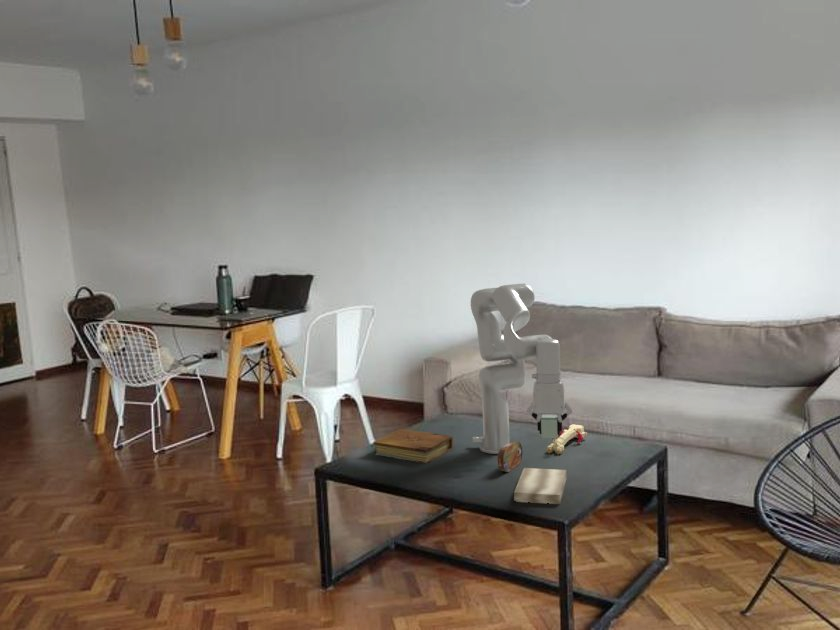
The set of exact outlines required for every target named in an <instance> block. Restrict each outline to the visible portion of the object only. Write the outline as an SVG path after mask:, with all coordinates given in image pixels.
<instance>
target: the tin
mask: <svg viewBox="0 0 840 630" xmlns="http://www.w3.org/2000/svg"><path fill="white" fill-rule="evenodd" d="M522 459H523V447H522V443H521V442H520V441H510V442H509V443H508V444H507V445H505V446H504V447H502V448H501V449H500V450H499V453H498V454H497V464H498V470H499V471H501V472H505V473H510V472H511V471H513V470H514V469H515V468H516V467H518V466H519V465H520V464H521V462H522ZM512 469H513V470H512Z"/></svg>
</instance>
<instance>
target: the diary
mask: <svg viewBox="0 0 840 630" xmlns="http://www.w3.org/2000/svg"><path fill="white" fill-rule="evenodd" d="M373 445H374V446H375V447H376V448H375V449H376V453H380V454H385V455H391V456H396V457H401V458H405V459H411V460H415V461H418V462H423V463H428V462H430V461H431V462H433V461H434V459H435V458H436V459H438V458H439V456H440V455H441V456H443V455H445V454H446V452H447V453H448V452H450V451H451V449H452V450H453V449H454V438H453V436H452V435H449V434H448V435H446V434H441V433H440V434H438V433H433V432H426V431H425V432H424V431H419V430H413V429H404V428H399V429H396V430H395V431H392V432H390V433H388V434H387V435H384V436H383V437H381V438H379V439H377V440H374V441H373ZM449 450H450V451H449ZM444 453H445V454H444ZM442 454H443V455H442ZM441 456H440V457H441ZM437 457H438V458H437ZM436 459H435V460H436ZM432 460H433V461H432ZM431 462H430V463H431ZM423 463H422V464H423ZM428 464H429V463H428Z"/></svg>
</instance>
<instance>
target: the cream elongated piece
mask: <svg viewBox="0 0 840 630" xmlns="http://www.w3.org/2000/svg"><path fill="white" fill-rule="evenodd" d="M585 430H586V429H585V427H584V425H581V424H574V423H573V424H570V425H569V426H568V429H565V427H562V431H560V435H558V438H551V441H552V443H550V445H548V446H547V448H546V449H545V452H546V453H547V454H551V453H553V452H555V454H556V455H559V454H560V455H561V454H562V453H563V451H564V450H565V445H566V444H567V443H568V442H569V440H572V439H574V438H575V439H577V442H576V443H577V444H579V443H581V442H582V440H584V438H585V437H587V436H588V432H585Z"/></svg>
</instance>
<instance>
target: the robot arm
mask: <svg viewBox="0 0 840 630" xmlns="http://www.w3.org/2000/svg"><path fill="white" fill-rule="evenodd" d="M535 298H536V297H535V293H534V290H533V288H532V286H530V285H529V284H526V283H512V284H506V285H505V284H504V285H500V286H499V287H489V288H483V289H479V290H476V291H475V292H473V294H472V295H471V298H470V309H471V310H470V311H471V313H472V315H473V319H474V321H475V325H476V329H477V330H476V331H477V339H478V347H479V348H478V349H479V354H480V357H481V360H482V361H484V362H489V363H490V362H491V363H492V362H501V361H508V363H500V364H493V365H492V364H491V365H488V366H485V367H482V369H481V370H480V371H479V373H478V382H479V387H480V392H481V393H480V394H481V402H482V403H481V405H482V428H483V430H482V431H483V436H480V437H479V436H472V441H471V442H472V443H474V444H475V445H476V444H478V445H479V444H480V445H479V450H480V452H483V453H486V454H491V455H492V454H493V455H498V453H499V450H500V449H501V448H502V447H504V446H505V445H507V444H508V443H509V442H511V441H510V418H509V417H510V413H509V401H508V399H507V397H505V395H504V394H503V393H502V392H503V391H507V390H508V391H509V390H514V389H520V388H522V387H523V386H525V384H526V382H527V381H526V380H527V372H526V371H527V370H526V363H525V361H526V360H535V361H536V363H535V364H536V366H535V368H536V372H535V373H532V374H531V378H532V379H534V380H535V381H534V383H533V389H532V402H531V403H530V405H529V406H528V407H527V409H526V413H528V415H530V416H532V418H533V419H534V420H535V421H536V423H537V431H539V434H540V435H541V418H542V415H557V418H558V422H557V432H558V435H560V431H563V429H562V428H563V421H564V420H565V419H567V417H568V416H570V415H572V414H573V412H574V410H573V409H572V407H570V405H569V404H568V402H567V401H566V394H565V393H566V392H565V386H564V382H563V381H562V380H561V377H562V376H561V345H560V342H559V340H557V339H555V338H552V337H551V336H550V335H548V334H537V335H526V336H519V335H518V334H516V332H517V331H519V330H521V329H522V328H524V327H525V326H526V325H527V324H528V323H529V321H530V320H531V319H530V318H531V313H530V311H529V309H528V308H529V307H532V305H533V304H534V303H535ZM494 312H499V313H500V314H501V317H503V320H504V321H505V324H504V328H503V334H502V331H501V323H500V320H499V318H498V317H497V316H496V315H495V314H494Z"/></svg>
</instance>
